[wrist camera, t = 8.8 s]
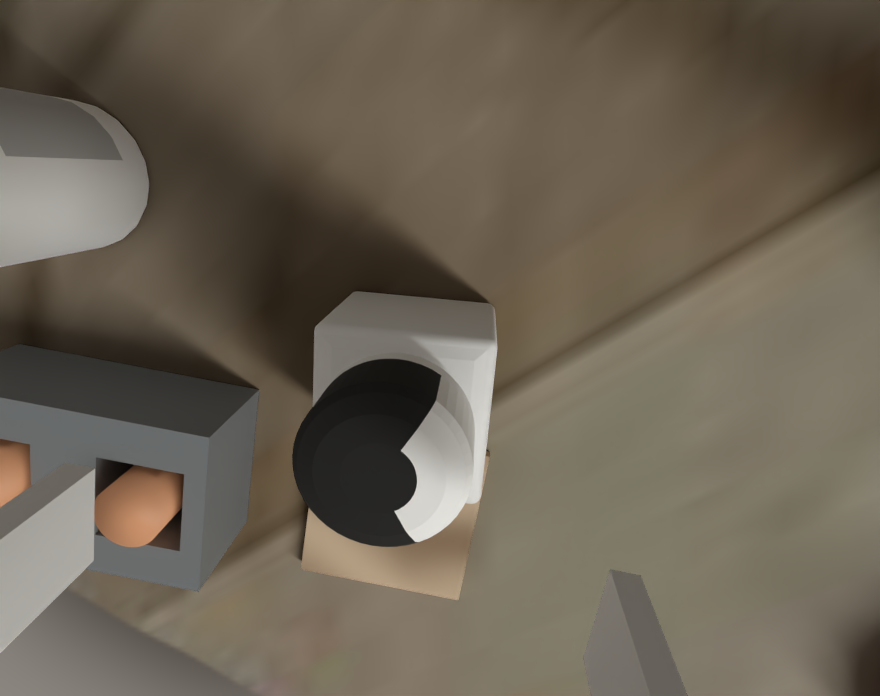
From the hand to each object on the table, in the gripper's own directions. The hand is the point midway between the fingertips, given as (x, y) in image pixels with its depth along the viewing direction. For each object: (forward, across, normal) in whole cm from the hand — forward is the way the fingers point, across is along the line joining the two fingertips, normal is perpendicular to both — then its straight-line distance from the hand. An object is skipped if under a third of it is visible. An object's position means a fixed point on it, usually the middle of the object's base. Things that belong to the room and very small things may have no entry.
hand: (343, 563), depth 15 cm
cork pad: (+16, 0, -8) cm, 18 cm away
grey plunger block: (+16, -14, -7) cm, 23 cm away
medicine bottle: (+16, 0, 0) cm, 16 cm away
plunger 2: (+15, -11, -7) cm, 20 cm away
